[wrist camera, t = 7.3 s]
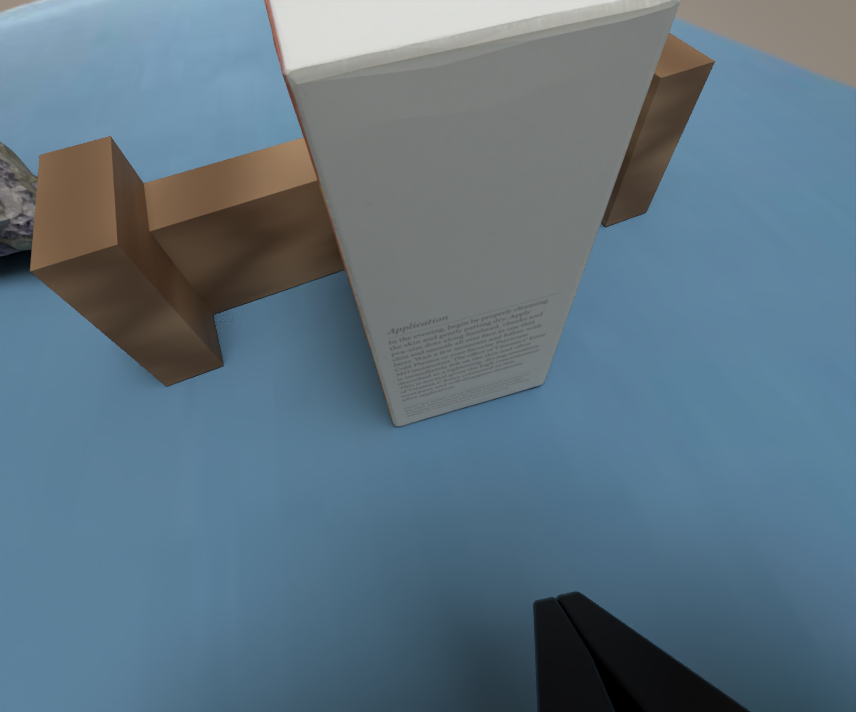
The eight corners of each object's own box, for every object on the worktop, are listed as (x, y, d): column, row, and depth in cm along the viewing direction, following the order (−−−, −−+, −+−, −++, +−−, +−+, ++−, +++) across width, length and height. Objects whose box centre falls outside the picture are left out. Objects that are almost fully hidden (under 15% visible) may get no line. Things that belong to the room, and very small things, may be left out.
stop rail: (166, 386, 19) (30, 271, 13) (154, 286, 22) (39, 154, 16) (646, 212, 22) (715, 61, 17) (579, 147, 25) (617, 0, 20)
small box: (351, 280, 21) (238, -105, 10) (478, 248, 22) (502, -146, 11) (392, 434, 17) (274, 65, 6) (547, 389, 18) (702, -18, 7)
